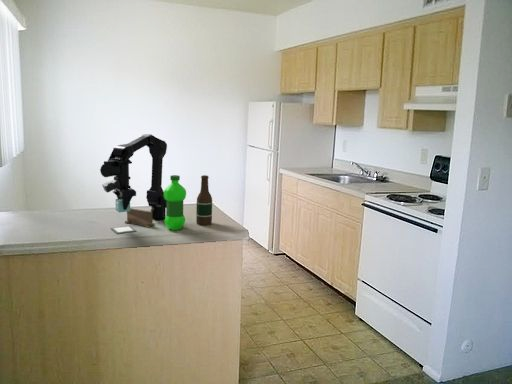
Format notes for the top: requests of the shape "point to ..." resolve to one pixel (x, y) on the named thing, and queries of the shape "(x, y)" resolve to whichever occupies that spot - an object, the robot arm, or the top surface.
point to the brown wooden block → (140, 217)
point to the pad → (123, 229)
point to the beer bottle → (204, 204)
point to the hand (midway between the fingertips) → (123, 208)
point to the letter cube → (121, 206)
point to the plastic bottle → (174, 204)
